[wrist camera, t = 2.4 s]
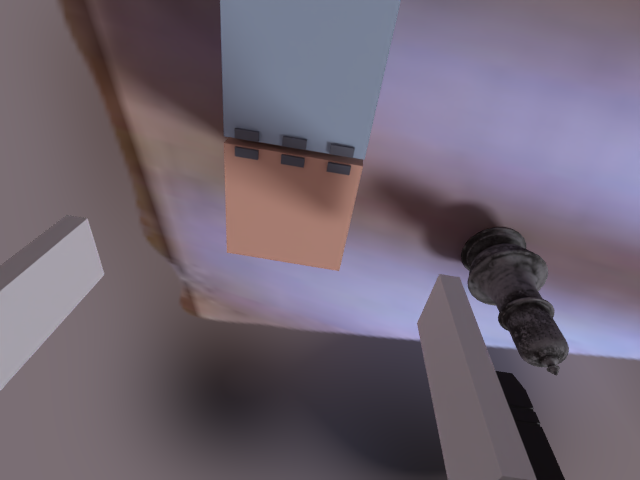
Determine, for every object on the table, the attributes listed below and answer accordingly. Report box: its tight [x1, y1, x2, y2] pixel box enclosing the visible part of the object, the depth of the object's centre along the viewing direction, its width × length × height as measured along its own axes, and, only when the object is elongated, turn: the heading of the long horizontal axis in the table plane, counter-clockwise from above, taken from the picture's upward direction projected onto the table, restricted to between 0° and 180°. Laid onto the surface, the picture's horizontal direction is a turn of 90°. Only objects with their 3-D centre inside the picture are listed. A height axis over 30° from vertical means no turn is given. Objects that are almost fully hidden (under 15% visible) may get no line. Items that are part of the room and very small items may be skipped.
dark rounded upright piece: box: [461, 228, 569, 375], centre depth 25 cm, size 6×6×12 cm
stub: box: [224, 137, 363, 271], centre depth 21 cm, size 6×6×11 cm
